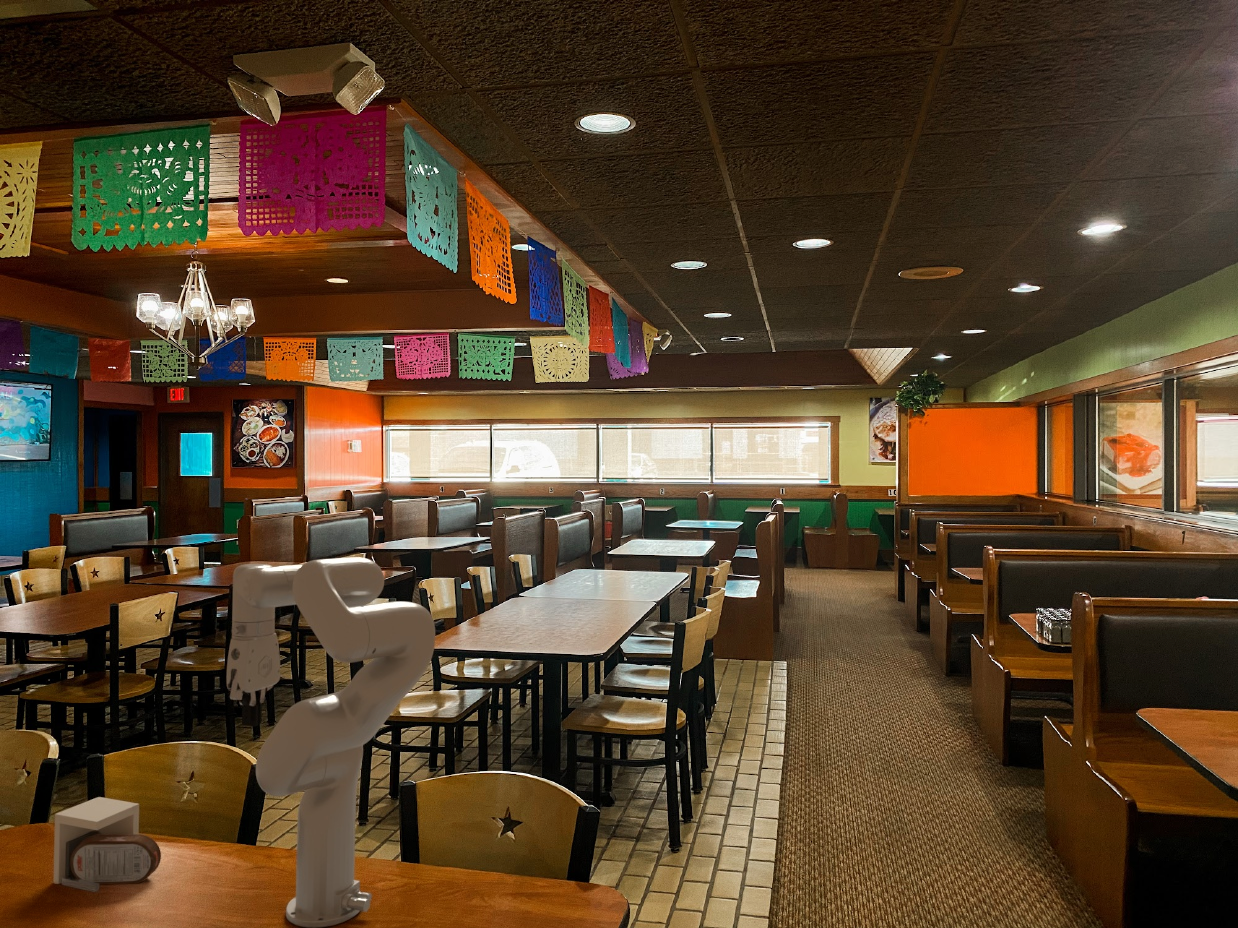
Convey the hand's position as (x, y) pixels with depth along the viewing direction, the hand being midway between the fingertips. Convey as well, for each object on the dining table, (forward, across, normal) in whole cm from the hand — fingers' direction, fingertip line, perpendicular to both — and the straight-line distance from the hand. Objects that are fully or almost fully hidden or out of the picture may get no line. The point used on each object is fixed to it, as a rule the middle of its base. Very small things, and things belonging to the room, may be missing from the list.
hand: (251, 724), depth 166 cm
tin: (+27, -13, +18) cm, 35 cm away
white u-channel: (+27, -13, +23) cm, 38 cm away
